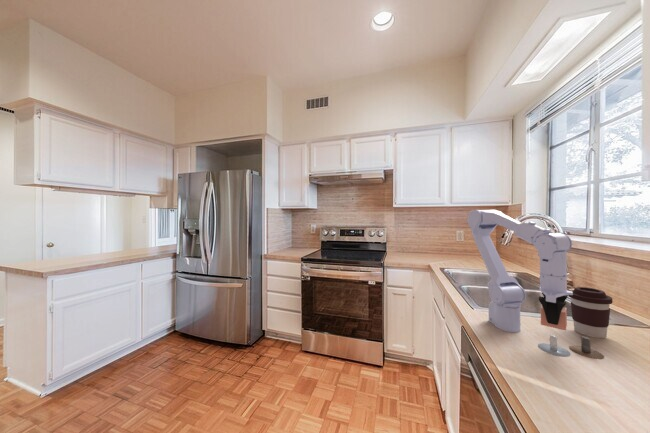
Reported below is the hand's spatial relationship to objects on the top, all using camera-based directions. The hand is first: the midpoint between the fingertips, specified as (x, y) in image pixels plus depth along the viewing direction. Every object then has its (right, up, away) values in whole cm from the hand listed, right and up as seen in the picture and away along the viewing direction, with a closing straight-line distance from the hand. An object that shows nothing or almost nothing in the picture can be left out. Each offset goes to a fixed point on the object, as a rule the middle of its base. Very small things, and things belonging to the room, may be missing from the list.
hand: (553, 320), depth 71 cm
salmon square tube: (0, -1, 0) cm, 1 cm away
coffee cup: (+21, -9, +10) cm, 25 cm away
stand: (0, -9, 0) cm, 9 cm away
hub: (+8, -9, -1) cm, 12 cm away
